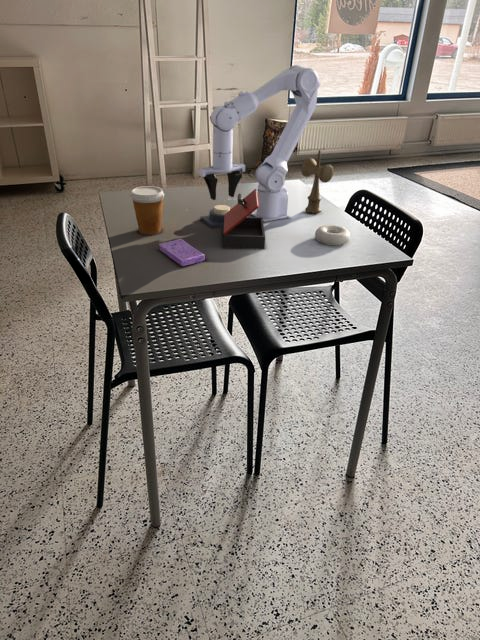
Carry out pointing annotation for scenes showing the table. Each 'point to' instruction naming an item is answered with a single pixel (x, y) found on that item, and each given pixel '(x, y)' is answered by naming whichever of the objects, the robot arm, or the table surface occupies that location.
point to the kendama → (316, 181)
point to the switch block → (213, 219)
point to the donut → (332, 235)
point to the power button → (221, 209)
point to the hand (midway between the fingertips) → (222, 197)
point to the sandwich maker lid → (240, 211)
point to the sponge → (182, 252)
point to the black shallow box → (246, 234)
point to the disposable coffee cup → (148, 208)
